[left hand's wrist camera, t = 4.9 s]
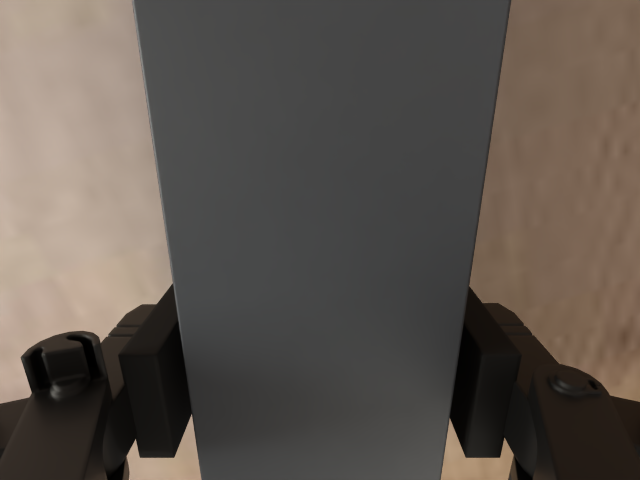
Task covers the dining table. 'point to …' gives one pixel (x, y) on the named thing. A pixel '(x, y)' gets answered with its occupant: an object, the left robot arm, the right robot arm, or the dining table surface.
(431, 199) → the post
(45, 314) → the dining table surface
